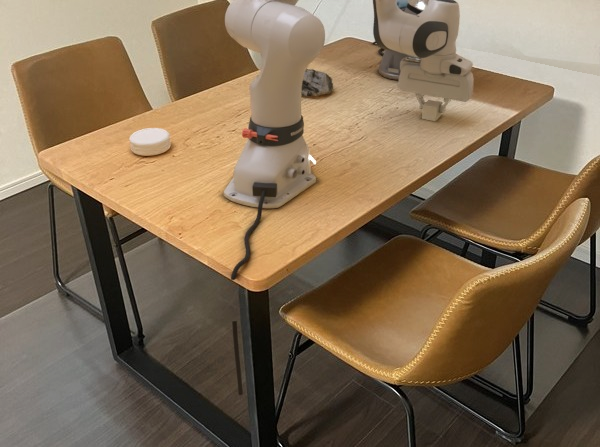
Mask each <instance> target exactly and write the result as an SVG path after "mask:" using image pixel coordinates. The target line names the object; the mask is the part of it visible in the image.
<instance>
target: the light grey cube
mask: <svg viewBox="0 0 600 447" xmlns="http://www.w3.org/2000/svg"><path fill="white" fill-rule="evenodd" d="M425 102H426V103H425V104H423V109H421V110H422V111H421V119H422V120H427V121H431V122H436V121H438V119H439V118H440V117H442V113H439V112H438V111H439V106H440V105H443V101H438V100H434V99H433V100H432V99H427V100H426V101H425Z"/></svg>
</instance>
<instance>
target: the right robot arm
mask: <svg viewBox="0 0 600 447" xmlns="http://www.w3.org/2000/svg"><path fill="white" fill-rule="evenodd" d="M428 2H429V0H397V6H398V7H399V8H400V9H401V10H402V11H403V12H405V13H408V14H412V15H416V16H417V15H418V14H420V13H421V12H422V11H423V10H424V9H425V8H426V7H427V5H428ZM375 44H377V43H376V42H375V41H373V42H372V45H375ZM383 50H384V52H382V51H383ZM377 52H378V54H379V55H381V56H382V58H381V61H380V63H379V66H378V73H379V75H380V76H381V77H384V78H386V79H389V80H394V81H399V76H400V72H401V70H400V62H401V60H402V59H403V58H406V57H411V58H418V57H414V56H411V55H406V54H403V53H400V52H397V51H392V50H387V49H382V48H379V49H378V51H377ZM420 59H421V58H420Z"/></svg>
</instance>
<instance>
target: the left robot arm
mask: <svg viewBox="0 0 600 447" xmlns="http://www.w3.org/2000/svg"><path fill="white" fill-rule="evenodd" d="M298 2H299V0H232V1H231V2H230V3H229V5H228V6H227V8H226V11H225V14H224V26H225V30H226V33H227V34H228V35H229V36H230V37H231V39H233V40H234V41H235V42H236V43H237V44H239V45H240V46H242V47H243V48H245V49H248V50H250V51H253V52H255V53H258V54H260V56H261V66H260V72H259V74H258V75H256V76H255V77H254V78H253V79H252V80H251V82H250V84H249V101H250V102H249V103H250V117H249V123H248V126H247V128H245V127H244V128H243V129H242V131H241V137H242V138H244V139H247V140H246V142H245V144H244V146H243V148H242V151H241V153H240V154H239V157H238V159H237V161H236V163H235V166H234V167H233V168H234V169H233V177H232V178H231V180H230V181H229V183H228V184H227V186H226V187H225V188H224V190H223V196H224V198H225V199H228V200H229V201H231V202H233V203H237V204H239V205H244V206H248V207H252V208H257V214H256V218H255V220H254V222H253V223H252V225H251V226H250V227H249V228H248V229H247V231H246V232H245V234H244V238H243V239H244V240H243V241H244V247H245V255H244V258H243V259H241V260H240V261H239V262H237V264H236V265H235V266H234V268H233V270H232V272H231V276H230V280H231V281H234V280H236V279H237V275H238V272H239V270H240V269H241V267H243V266H244V265H246V263H248V261H249V260H250V258H251V245H250V236H251V234H252V233H253V231H255V229H256V228H257V227H258V225H259V224H260V222H261V218H262V214H263V209H278V208H280V207H283V205H285V204H286V203H288V202H289V201H292V199H294V198H295V197H296V196H298V195H299V194H301V193H303V192H304V191H305V190H307V189H308V188H309V187H311V186H313V185H314V184H316V182H317V176H316V175H315V174H314V173H312V167H311V162H312V163H313V165H317V161H316V159H314V157H313V156H312V155H311V154H310V147H309V145H308V144H307V142H306V140H305V138H304V133H305V132H304V131H305V130H304V127H305V121H304V116H303V115H302V95H301V90H302V81H303V77H304V74H305V71H306V69H308V67H309V66H310V64H311V63H313V62H314V61H315V60H316V59H317V58H318V57H319V56H320V55H321V53H322V51H323V49H324V46H325V43H326V42H325V41H326V30H325V26H324V24H323V22H322V21H321V19H320V18H319V17H317V16H316V15H314V13H311V12H310V11H308V10H307V9H305V8H304V7H301V6H299V5H298V6H297V3H298ZM372 7H373V27H372V34H373V38H374V42H376V43H375V44H376V45H377V46H378V47H379V49H381V48H382V49H383V50H386V49H387V50H392V51H397V52H400V53H403V54H406V55H411V56H414V57H418V58H411V57H406V58H403V59H402V60H401V62H400V70H401V72H400V76H399V80H397V87H398V89H399V91H400V92H405V93H411V94H416V99H417V101H418V103H419V110H422V109H423V104H425V103H426V102H427V101H425V99H424V96H428V97H435V98H440V99H443V100H442V103H444V104H442V105H440V106H439V111H438V112H439V113H441V114H445V113H446V108H447V106H448V104H449V103H450V102H451V100H452V101H456V102H457V101H458V102H463V103H467V102H468V101H470V100H471V99H472V98H473V94H474V87H475V86H474V84H475V80H474V74H473V72H472V71H471V70H472V69H473V61H471V60H470V59H467V58H465V57H463V56H462V55H459V54H458V53H457V46H456V42H457V38H458V36H459V30H460V20H461V17H460V16H461V15H460V14H461V13H460V12H461V11H460V5H459V3H458V2H457V1H456V0H429V2H428V5H427V7H426V8H425V9H424V10H423V11H422V12H421V13H420V14H418V15H417V16H416V15H412V14H408V13H405V12H403V11H402V10H401V9H400V8H399V7H398V6H397V0H372ZM420 58H421V59H420ZM231 323H232V324H231V326H232V340H233V350H234V352H233V353H234V361H235V370H236V380H237V381H236V382H237V392H238V395H239V396H242V395H244V393H243V392H244V391H243V390H244V389H243V380H242V368H241V359H240V358H241V357H240V348H239V336H238V335H239V333H238V321H237V320H234V321H233V320H232V321H231Z"/></svg>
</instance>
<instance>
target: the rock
mask: <svg viewBox="0 0 600 447" xmlns="http://www.w3.org/2000/svg"><path fill="white" fill-rule="evenodd" d="M333 90H334V83H333V78H332V77H331V76H330V75H329V74H328V73H327V72H324V71H319V70H315V69H313V68H312V69H310V68H307V69H306V71H305V74H304V77H303V81H302V90H301V97H302V96H303V97H312V96H314V97H318V96H324V95H328V94H330V93H331V92H332V91H333Z"/></svg>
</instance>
